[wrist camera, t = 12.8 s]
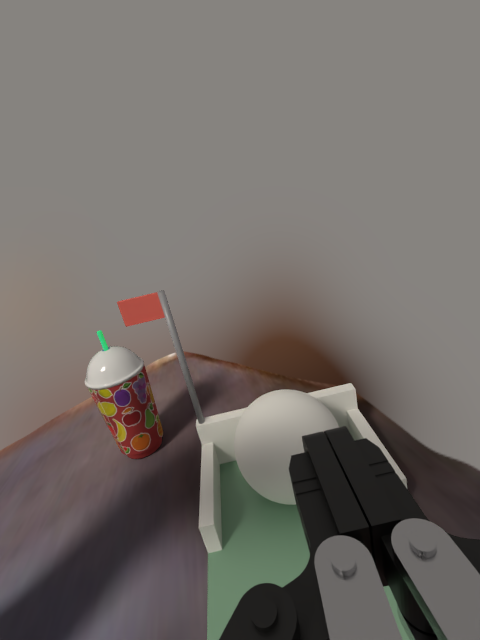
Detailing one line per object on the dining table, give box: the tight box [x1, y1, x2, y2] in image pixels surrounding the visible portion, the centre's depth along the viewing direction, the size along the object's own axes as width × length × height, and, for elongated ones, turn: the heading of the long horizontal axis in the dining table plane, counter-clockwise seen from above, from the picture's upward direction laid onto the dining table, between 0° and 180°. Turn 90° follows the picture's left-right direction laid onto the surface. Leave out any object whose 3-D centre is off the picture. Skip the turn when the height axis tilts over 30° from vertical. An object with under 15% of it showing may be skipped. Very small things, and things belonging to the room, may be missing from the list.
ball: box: [234, 389, 339, 505], centre depth 39 cm, size 12×12×12 cm
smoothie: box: [85, 330, 163, 459], centre depth 51 cm, size 8×8×20 cm
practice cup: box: [117, 291, 409, 640], centre depth 30 cm, size 25×30×25 cm
